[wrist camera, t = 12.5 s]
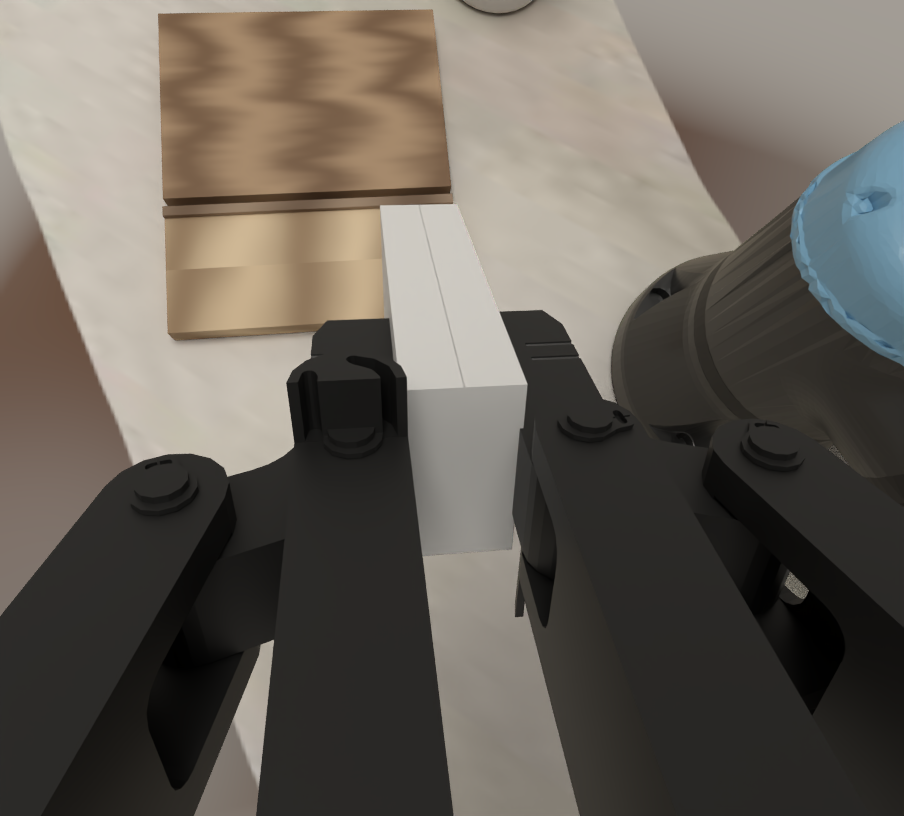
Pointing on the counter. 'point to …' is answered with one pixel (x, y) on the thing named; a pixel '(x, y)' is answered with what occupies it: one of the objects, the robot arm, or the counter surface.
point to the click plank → (300, 106)
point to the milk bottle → (497, 5)
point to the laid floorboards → (275, 264)
